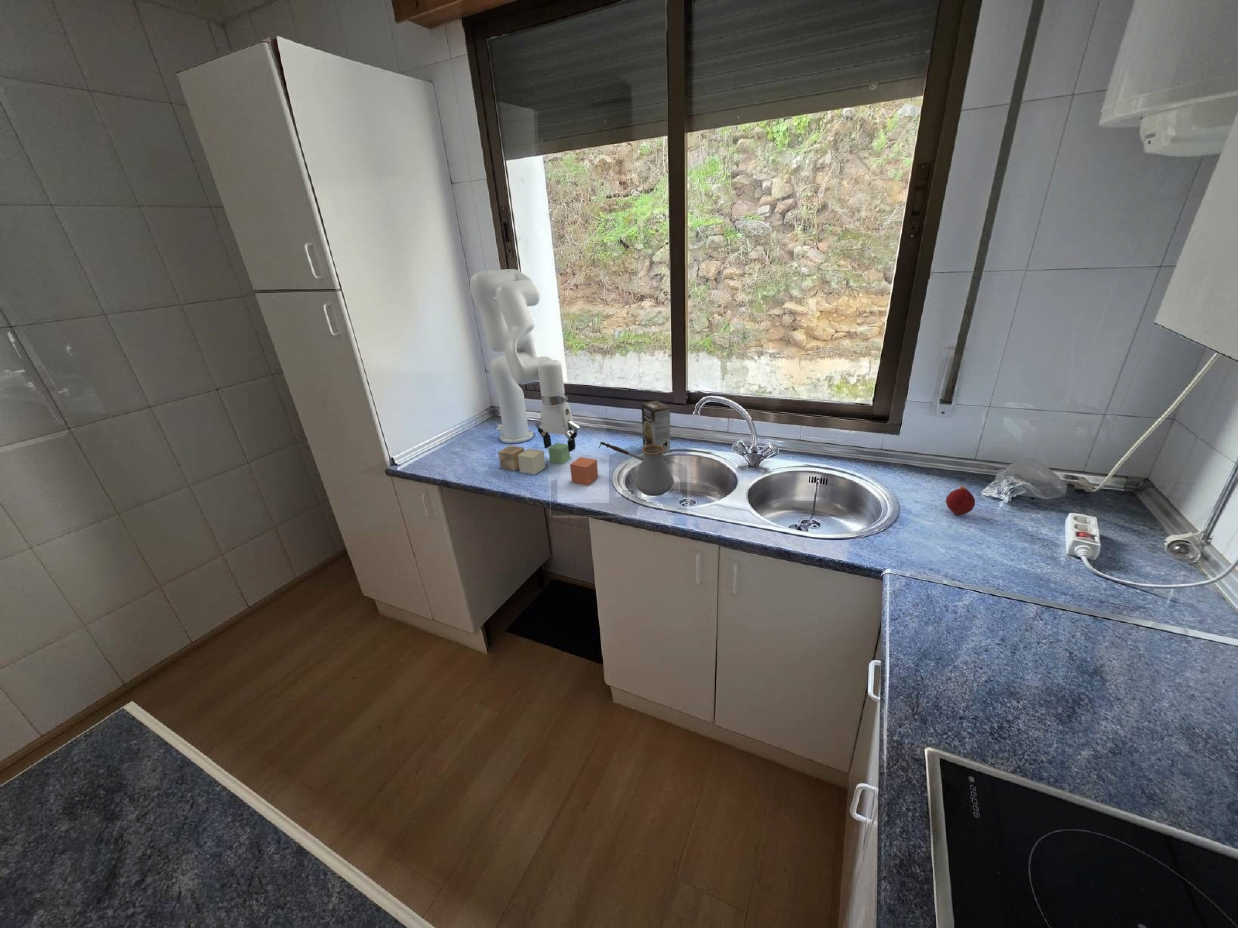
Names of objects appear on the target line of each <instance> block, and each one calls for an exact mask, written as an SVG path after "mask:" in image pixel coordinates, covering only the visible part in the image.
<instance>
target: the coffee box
mask: <svg viewBox="0 0 1238 928" xmlns="http://www.w3.org/2000/svg"><path fill="white" fill-rule="evenodd" d="M640 405H641V426H642V427H641V428H642V446H643V447H642V448H644V447H646V446H650V445H658V446H661V447H663V448H664V449H665V451H664V452H663V454H665V453H669V452H671V407H670V406H668V405H667V404H664V403H663V402H660V401H659V400H654V401H647V402H646V401H645V402H642V403H641V404H640Z"/></svg>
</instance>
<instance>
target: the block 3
mask: <svg viewBox="0 0 1238 928" xmlns="http://www.w3.org/2000/svg"><path fill="white" fill-rule="evenodd" d="M569 468H570V477H571V483H574V484H578V485H579V484H580V485H585V486H589V485H591V484H592V483H593V482H595V481H596V480H597V479H598V478H599V468H598V460H597V459H595V458H588V457H583V456H580V457H578V458H577V459H576V460H574V461H573V462H571V463H570V464H569Z"/></svg>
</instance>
